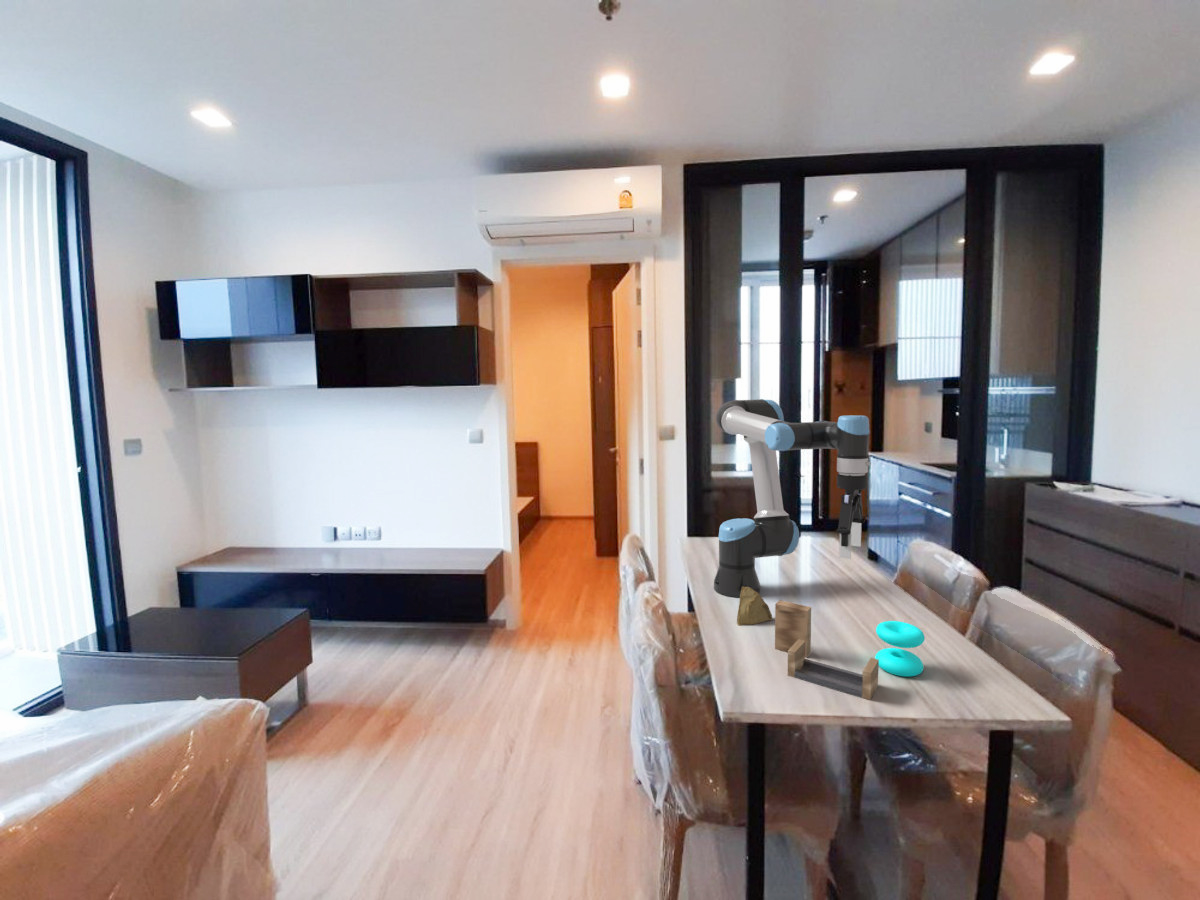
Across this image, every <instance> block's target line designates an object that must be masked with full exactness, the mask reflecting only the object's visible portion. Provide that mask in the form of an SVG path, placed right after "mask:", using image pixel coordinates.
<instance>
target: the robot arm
mask: <svg viewBox="0 0 1200 900" xmlns="http://www.w3.org/2000/svg"><path fill="white" fill-rule="evenodd" d="M715 423H716V425H717V427H718V429H719V430H721V432H724V433H725V434H728V435H732V436H733V435H735V436H736V435H740V436H743V440H744V441H745V442H746V443H748V446H749V447H748V448H749V453H750V463H751V470H752V478H753V485H754V486H753V488H754V495H755V502H756V503H755V504H756V511H757V512H756V514H755V515H754V517H753V519H750V518H732V519H728V520H726V521H723V522H722V523H721V524H720V526H719V530H718V531H719V532H718V536H717V537H718V568H717V572H716V573H715V577H714V580H713V590H714V591H715V592H716V593H718V594H720V595H723V596H727V597H732V598H740V593H741V588H742V586H743V587H750V588H752V589H753V590H754V591H756V592H757V593H759V594H760V592H761V583H760V580H759V577H758V574H757V571H756V566H755V565H756V559H757V558H767V557H782V556H785V555H790V554H792V553H793V552H795V551H796V550H797V549H796V548H797V547H798V545H799V541H800V531H799V528H798V525H797V523H796V522H795V521H794V520H791V519H790V514H789V513H787V512H786V510H784V504H783V503H784V502H783V496H782V487H781V481H780V473H779V464H778V458H777V451H780V452H786V451H796V450H798V451H799V450H817V449H818V450H819V449H821V450H822V449H829V450H836V451H837V456H836V472H837V474H836V487H837V488H839V489H841V490H844V494H841V496H840V498H841V501H840V510H839V519H838V527H837V529H836V531H835V533H836V534H839V540H838V541H839V544H838V545H839V547H838V548H839V549H838V551H839V553H838V558H841V559H847V560H851V559H852V546H854V547H860V548H861V546H862V525H863V524H864V523H865V520H866V519H865V518H864V512H863V497H862V491H863V490H867V489H868V485H869V484H868V483H869V482H868V481H869V476H868V475H867V473H868V472H869V466H871V462H870V461H869V450H870V449H869V448H870V446H869V445H870V433H871V430H870V419H869V417H868V416H866V415H857V414H856V415H854V414H853V415H850V414H849V415H840V416H839V417H838V419H837V422H836V421H828V420H818V421H810V422H788V421H785V420H784V413H783V410H782V408H781V406H780V405H779V404H778V402H776V401H774V400H773V399H763V398H761V399H742V400H741V399H735V400H734V399H733V400H729V401H727V402H724V403H723V404H722V405H721V406H720V407H719V408H718V409H717V411H716V414H715Z"/></svg>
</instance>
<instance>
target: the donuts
mask: <svg viewBox="0 0 1200 900" xmlns="http://www.w3.org/2000/svg"><path fill="white" fill-rule="evenodd" d="M875 632H876V635H877V637H878V638H879V639H880V640H881V641H883V642H884V643H885V644H888V645H890V646H893V647H886V648H882V649H880V650H879V651H877V653H876V654H875V657H874V659H878V660H879V667H878V668H880V669H881V670H883V671H884V672H887V673H888V674H891V675H895V676H899V677H906V678H907V677H916V676H919V675H920V674H921V673H922V672H923V670H924V663H923V660H921V658H920V657H919V656H918V655H916V654H915V653H913V652H911V651H909V650H906V649H912V648H917V647H919V646H921V645H923V643H924V642H925V634H924V632H923V631H922V629H920V628H919V627H917V626H915V625H914V624H911V623H907V622H904V621H898V620H887V621H882V622H880V623H879V624H877V626H876V628H875Z"/></svg>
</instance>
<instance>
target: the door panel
mask: <svg viewBox="0 0 1200 900" xmlns="http://www.w3.org/2000/svg"><path fill="white" fill-rule="evenodd" d="M774 606H775V611H774V613H775V615H774V619H775V620H774V621H775V623H774V650H777V651H780V652H785V653H787V654H788V650H789V649H790V648H791V647H792V646H793V645H794V643H795V642H796V641H797V640H798V639H800V640H804V641H805V659H807V658H808V657H809V656H810V654H811V653H812V651H811V649H812V647H811V646H812V643H811V641H812V607H811V606H807V605H803V604H799V603H793V602H790V601H789V602H788V601H784V600H780V599H779V600H778V601H777V602H776V603H775V605H774Z"/></svg>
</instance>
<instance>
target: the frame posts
mask: <svg viewBox="0 0 1200 900" xmlns="http://www.w3.org/2000/svg"><path fill="white" fill-rule="evenodd" d="M804 659H806V657H805V641H804V640H800V639H798V640H797V641H796V642H795V643H794V645H793V646H792V647H791V648H790V649H789V650H788V653H787V676H789V677H792V678H795V670H796V669H798V670H800V669H801V668H802V666H803V661H804ZM879 668H880V667H879V660H878V659H875V657H874V658H873V657H870V658H869V660H868V662H867V663H866V665H865V667H864V669H863V670H862V675H863V684H862V699H865V700H868V701H871V700H872V698H873V696H874V694H875V692H876V690H877V688H878V686H879Z"/></svg>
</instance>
